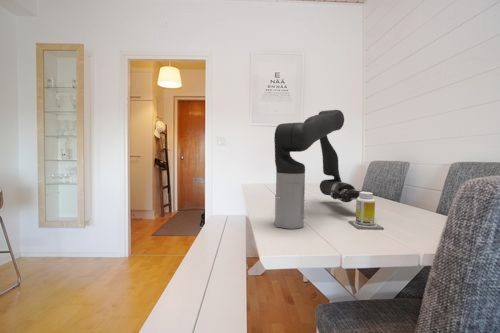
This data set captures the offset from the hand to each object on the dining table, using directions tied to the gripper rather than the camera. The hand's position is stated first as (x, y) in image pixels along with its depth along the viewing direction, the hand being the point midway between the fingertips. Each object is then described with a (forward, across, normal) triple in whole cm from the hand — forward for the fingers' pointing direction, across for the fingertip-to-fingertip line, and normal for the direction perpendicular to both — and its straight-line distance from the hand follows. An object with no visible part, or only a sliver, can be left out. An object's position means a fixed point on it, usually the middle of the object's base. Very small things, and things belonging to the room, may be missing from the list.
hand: (358, 198), depth 88 cm
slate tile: (+6, 0, +8) cm, 10 cm away
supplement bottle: (+6, 0, +8) cm, 10 cm away
